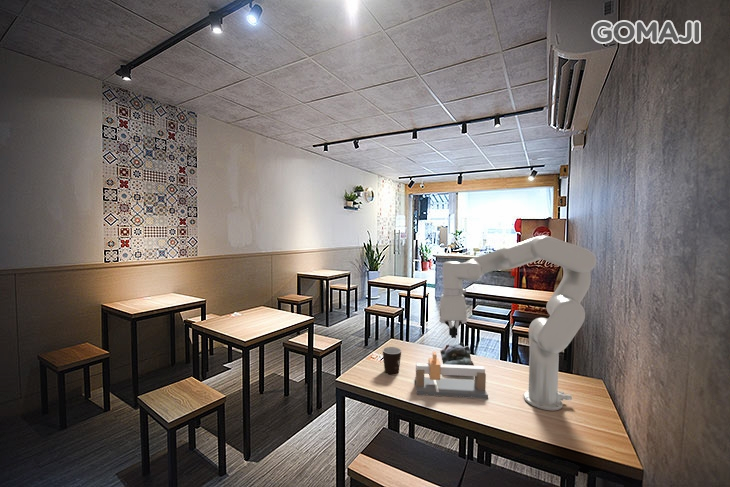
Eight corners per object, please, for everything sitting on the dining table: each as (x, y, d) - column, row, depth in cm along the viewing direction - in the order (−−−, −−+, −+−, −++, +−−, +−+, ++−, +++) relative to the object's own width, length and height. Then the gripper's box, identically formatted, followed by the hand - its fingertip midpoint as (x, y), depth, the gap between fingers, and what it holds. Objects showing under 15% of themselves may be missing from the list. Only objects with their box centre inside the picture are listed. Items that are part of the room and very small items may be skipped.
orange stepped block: (438, 373, 130) (438, 350, 129) (440, 380, 124) (440, 356, 123) (428, 372, 130) (428, 350, 130) (430, 379, 124) (430, 355, 124)
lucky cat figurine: (438, 374, 139) (434, 342, 145) (447, 375, 148) (443, 345, 155) (471, 372, 132) (465, 338, 138) (479, 373, 141) (473, 342, 148)
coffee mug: (390, 378, 136) (391, 355, 135) (378, 370, 143) (378, 349, 142) (409, 371, 143) (410, 349, 142) (397, 364, 149) (397, 344, 149)
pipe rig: (479, 383, 131) (479, 361, 131) (488, 398, 119) (488, 374, 119) (415, 380, 134) (415, 358, 133) (417, 394, 122) (417, 370, 121)
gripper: (469, 290, 128) (470, 334, 129) (432, 290, 129) (433, 334, 130) (474, 293, 121) (474, 340, 121) (435, 293, 122) (435, 340, 122)
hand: (453, 337), depth 126 cm, fingers closed
